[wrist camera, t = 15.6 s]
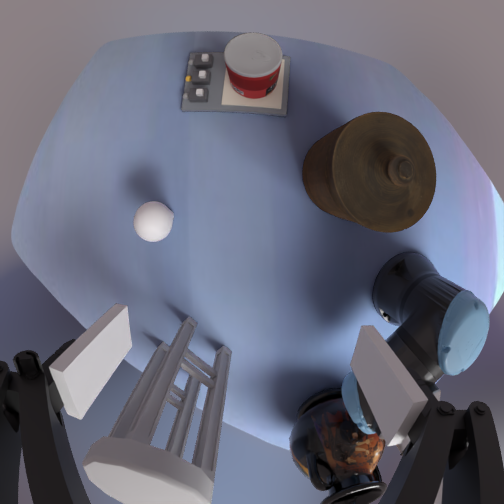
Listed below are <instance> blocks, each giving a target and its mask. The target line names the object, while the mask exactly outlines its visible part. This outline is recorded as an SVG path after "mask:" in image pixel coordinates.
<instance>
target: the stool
mask: <svg viewBox="0 0 504 504" xmlns="http://www.w3.org/2000/svg"><path fill="white" fill-rule="evenodd" d="M197 324H198V323H197V322H196V321H194V320H193V319H192V318H191V317H190V316H189V317H188V318H187V319H186V320H185V321H184V322H183V323H182V324H181V326H180V328H179V330H178V332H177V334H176V336H175V338H174V340H173V342H172V344H171V346H170V347H169V346H168V345H167V344H166V343H164V342H162V343H161V344H160V345H159V346H158V347H157V349H156V350H155V352H154V354H153V356H152V357H151V359H150V361H149V363H148V364H147V366H146V368H145V370H144V371H143V373H142V375H141V377H140V379H139V380H138V382H137V384H136V386H135V388H134V389H133V391H132V393H131V395H130V397H129V399H128V400H127V402H126V404H125V406H124V408H123V410H122V412H121V413H120V415H119V417H118V419H117V421H116V423H115V424H114V426H113V428H112V430H111V432H110V434H109V436H108V437H102V438H101V439H99V440H98V441H96V442H95V443H93V444H92V446H91V447H90V449H89V451H88V453H87V455H86V456H85V458H84V460H83V463H82V464H83V467H84V469H85V471H86V473H87V475H88V478H89V479H90V480H91V481H92V482H93V483H94V484H95V485H96V486H98V487H99V488H100V489H101V490H103V491H104V492H105V493H106V494H107V495H109V496H111V497H113V498H115V499H116V500H118V501H120V502H122V503H124V504H211V501H212V493H213V486H214V478H215V471H216V462H217V456H218V448H219V440H220V433H221V425H222V419H223V411H224V404H225V397H226V390H227V382H228V375H229V368H230V361H231V354H232V351H231V350H229V349H228V348H227V347H226V346H224V345H223V346H222V347H221V348H220V349H219V350H217V351H216V355H215V360H214V364H213V368H212V367H210V366H209V365H208V364H207V363H205V362H204V361H203V360H201V359H200V358H199V357H198V356H196V355H195V354H194V353H193V352H191V351H190V350H189V349H188V346H189V343H190V341H191V338H192V336H193V333H194V331H195V328H196V326H197ZM184 356H185V357H186V358H187V359H189V360H190V361H191V362H192V363H194V364H195V365H196V366H197V367H199V368H200V369H201V370H203V371H204V372H205V373H207V374H208V375H209V376H211V377H210V378H209V377H207V376H206V375H205V374H203V373H202V372H201V371H199V370H198V369H197V368H195V367H194V366H193V365H191V364H190V363H189V362H188V361H186V360H185V359H184ZM180 367H181V368H183V369H184V370H185V371H187V372H188V373H189V377H188V380H187V383H186V386H185V389H184V391H183V390H181V389H180V388H179V387H177V386H176V385H174V384H173V383H174V381H175V378H176V376H177V373H178V371H179V368H180ZM201 383H203V384H204V385H205V386H207V387H208V391H207V395H206V400H205V404H204V408H203V413H202V418H201V422H200V427H199V431H198V436H197V441H196V445H195V450H194V454H193V459H192V464H191V463H189V462H187V461H186V460H183V459H182V458H183V453H184V449H185V445H186V441H187V437H188V434H189V429H190V426H191V422H192V418H193V414H194V410H195V406H196V402H197V398H198V395H199V391H200V387H201ZM170 391H172V392H173V393H175V394H176V395H177V396H179V397H180V398H181V401H179V400H177V399H176V398H175V397H173V396H172V395H170ZM166 401H167V402H169V403H170V404H172V405H173V406H174V407H176V408H177V409H178V411H177V414H176V417H175V420H174V423H173V426H172V429H171V433H170V436H169V439H168V442H167V445H166V449H165V450H163V449H159V448H156V447H153V446H150V444H151V441H152V438H153V436H154V433H155V430H156V428H157V425H158V422H159V420H160V417H161V414H162V412H163V409H164V407H165V404H166Z"/></svg>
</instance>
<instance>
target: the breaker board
mask: <svg viewBox="0 0 504 504" xmlns="http://www.w3.org/2000/svg"><path fill="white" fill-rule="evenodd" d="M289 71H290V57H288V56H282V63H281V68H280V72H279V77H278V81H277V85H276V87H275V89H274V90H273V92H272V93H270V94H269V95H267V96H265V97H262V98H258V99H251V98H246V97H244V96H241V95H240V94H238V93H237V92H236V91H235V90H234V89H233V88H232V86H231V83H230V79H229V76H228V72H227V68H226V64H225V60H224V52H200V53H190V59H189V61H188V70H187V76H186V78H185V79H186V82H185V88H184V94H183V102H182V109H181V110H182V111H183V112H232V113H249V114H262V115H273V116H282V117H286V114H287V101H288V86H289Z"/></svg>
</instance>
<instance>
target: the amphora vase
mask: <svg viewBox="0 0 504 504" xmlns="http://www.w3.org/2000/svg"><path fill="white" fill-rule="evenodd" d="M289 441H290V453H291V456H292V459H293V461H294V462H295V465H296V466H297V468H298V469H299V470H300V471H301V472H302V474H303V475H304V476H305V477H307V478H308V479H310V480H311V483H312V484H313V486H314V487H315V488H316V489H318V490H321V491H325V490H328V491H329V496H328V497H326V498H325V499H324V500H323V501H322V502H321V503H320V504H370V503H371V502H373V501H375V500H377V499H378V498H379V497H381V496H382V495H383V494H384V493H385V491H386V489H387V485H386V484H385V483H384V482H382V479H381V475H380V472H379V469H378V466H377V464H378V462H379V460H380V459H381V457H382V454H383V451H384V448H385V444H386V442H385V440H384V439H380V438H379V436H378V435H377V433H374V434H366V433H364V432H362V431H361V430H360V429H359V428H358V426H357V423H354V422H353V420H352V419H351V417H350V415H349V413H348V411H347V409H346V407H345V404H344V401H343V397H342V388H334V389H329V390H325V391H322V392H319V393H317V394H315V395H314V396H312V397H310V398H309V399H308V400H307V401H305V402H304V403H303V404H302V406H301V407H300V408H299V410H298V413H297V422H296V423H295V425H294V427H293V429H292V432H291V435H290V438H289Z"/></svg>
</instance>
